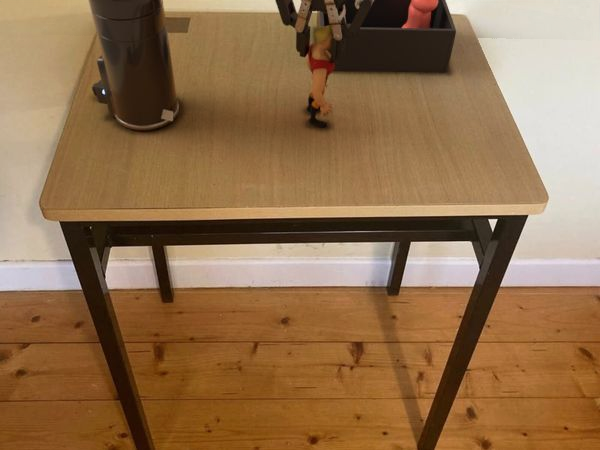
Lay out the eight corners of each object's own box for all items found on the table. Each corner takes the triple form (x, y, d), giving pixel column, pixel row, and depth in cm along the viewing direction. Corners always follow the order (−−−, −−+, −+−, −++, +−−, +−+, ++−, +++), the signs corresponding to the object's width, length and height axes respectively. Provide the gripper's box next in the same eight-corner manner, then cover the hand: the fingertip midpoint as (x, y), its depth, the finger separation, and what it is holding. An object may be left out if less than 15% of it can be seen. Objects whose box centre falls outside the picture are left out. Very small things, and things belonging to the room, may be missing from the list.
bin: (318, 70, 102) (320, 28, 96) (316, 29, 111) (318, -12, 105) (447, 72, 102) (456, 30, 97) (434, 31, 111) (442, -9, 106)
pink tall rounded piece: (427, 57, 104) (445, -31, 93) (397, 53, 105) (411, -35, 94) (429, 42, 108) (446, -45, 97) (400, 38, 108) (413, -49, 97)
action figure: (332, 136, 90) (344, 43, 79) (307, 136, 90) (316, 43, 79) (324, 98, 96) (334, 7, 86) (301, 98, 96) (308, 7, 85)
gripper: (392, -74, 74) (376, 53, 87) (281, -92, 77) (280, 34, 90) (376, -50, 69) (361, 82, 82) (258, -70, 72) (261, 60, 85)
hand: (319, 56), depth 86 cm, fingers closed on action figure, 3 cm apart
